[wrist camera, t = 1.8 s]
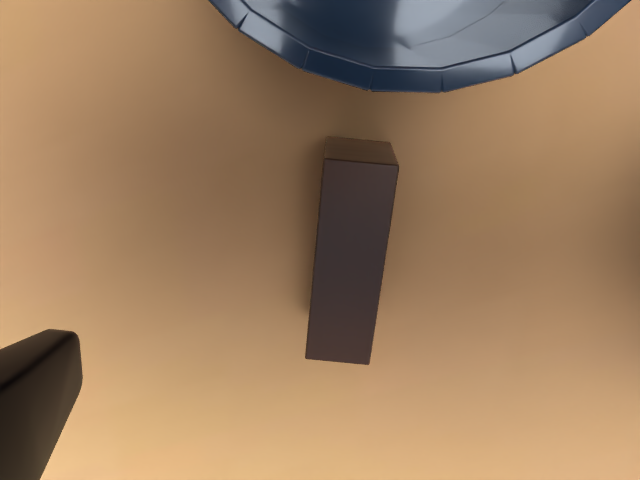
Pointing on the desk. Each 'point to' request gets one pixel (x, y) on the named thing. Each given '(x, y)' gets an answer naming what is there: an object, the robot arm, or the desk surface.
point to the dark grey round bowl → (416, 37)
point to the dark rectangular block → (350, 248)
